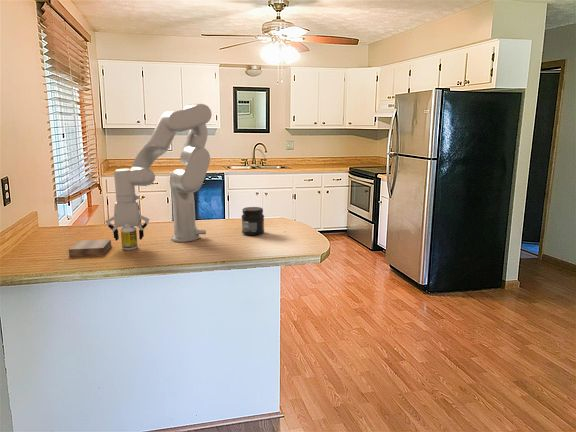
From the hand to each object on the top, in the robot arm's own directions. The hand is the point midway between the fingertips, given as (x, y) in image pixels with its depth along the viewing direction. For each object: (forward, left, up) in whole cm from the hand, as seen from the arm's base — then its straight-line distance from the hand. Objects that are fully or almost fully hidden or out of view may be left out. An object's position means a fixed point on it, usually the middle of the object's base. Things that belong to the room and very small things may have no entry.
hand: (129, 239), depth 189 cm
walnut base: (+15, +2, -4) cm, 16 cm away
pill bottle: (0, 0, -4) cm, 4 cm away
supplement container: (-53, -16, -4) cm, 56 cm away
